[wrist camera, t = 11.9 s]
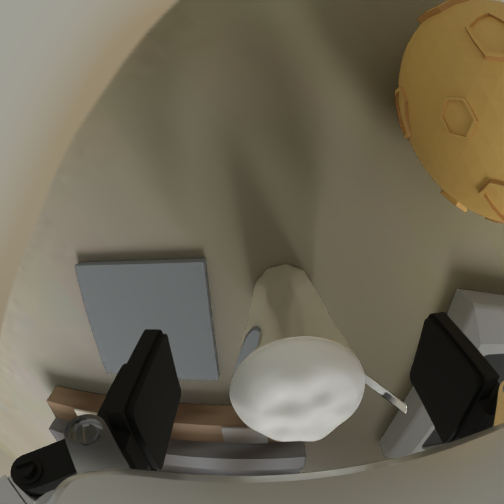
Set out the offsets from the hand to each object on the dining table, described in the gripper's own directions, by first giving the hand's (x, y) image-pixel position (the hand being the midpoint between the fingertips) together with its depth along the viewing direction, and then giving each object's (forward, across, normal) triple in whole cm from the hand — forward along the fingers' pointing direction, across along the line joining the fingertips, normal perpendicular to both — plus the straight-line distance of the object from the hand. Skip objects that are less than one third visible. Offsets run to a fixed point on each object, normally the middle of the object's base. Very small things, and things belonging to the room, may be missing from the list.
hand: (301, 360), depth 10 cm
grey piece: (+7, +9, +16) cm, 19 cm away
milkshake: (+7, 0, +1) cm, 7 cm away
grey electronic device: (+7, -15, +10) cm, 19 cm away
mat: (+7, +8, +3) cm, 11 cm away
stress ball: (+7, -9, -9) cm, 15 cm away
